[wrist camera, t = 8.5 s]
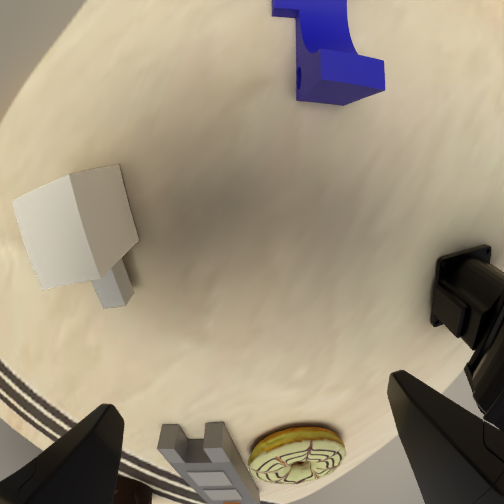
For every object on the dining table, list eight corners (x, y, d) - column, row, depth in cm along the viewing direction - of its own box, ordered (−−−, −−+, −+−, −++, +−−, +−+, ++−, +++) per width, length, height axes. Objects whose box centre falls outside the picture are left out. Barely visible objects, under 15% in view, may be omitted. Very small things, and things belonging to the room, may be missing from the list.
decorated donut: (284, 472, 30) (287, 495, 26) (229, 444, 27) (228, 472, 23) (355, 441, 28) (363, 465, 24) (310, 407, 25) (317, 437, 21)
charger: (118, 161, 16) (68, 170, 11) (153, 285, 19) (125, 335, 14) (66, 181, 17) (10, 197, 11) (102, 293, 20) (65, 339, 14)
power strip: (223, 421, 25) (221, 454, 21) (259, 491, 31) (260, 512, 28) (162, 424, 25) (155, 454, 21) (216, 493, 32) (215, 514, 28)
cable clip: (271, -43, 12) (280, -92, 6) (333, -35, 12) (359, -78, 6) (271, 99, 16) (284, 75, 10) (342, 106, 16) (385, 90, 10)
